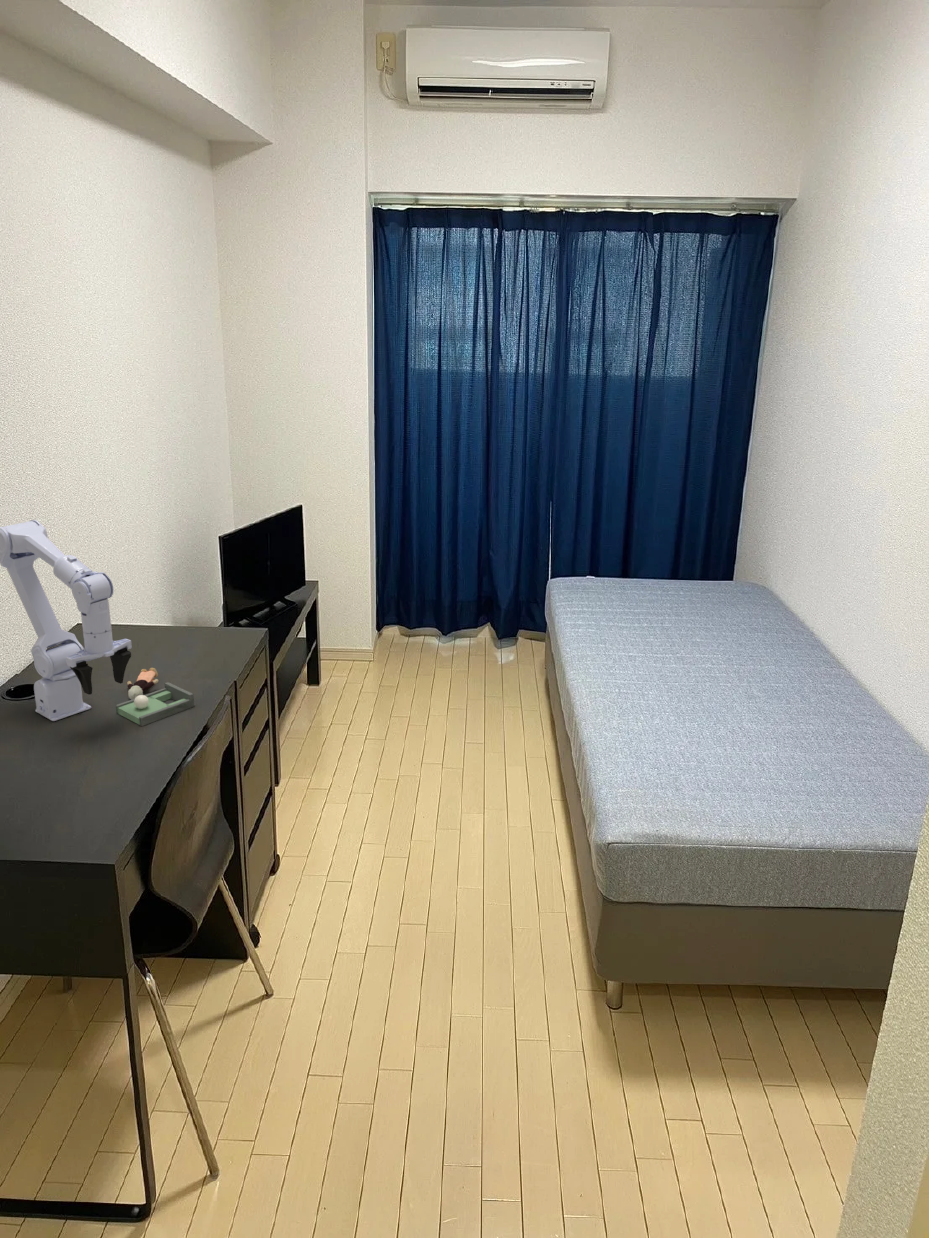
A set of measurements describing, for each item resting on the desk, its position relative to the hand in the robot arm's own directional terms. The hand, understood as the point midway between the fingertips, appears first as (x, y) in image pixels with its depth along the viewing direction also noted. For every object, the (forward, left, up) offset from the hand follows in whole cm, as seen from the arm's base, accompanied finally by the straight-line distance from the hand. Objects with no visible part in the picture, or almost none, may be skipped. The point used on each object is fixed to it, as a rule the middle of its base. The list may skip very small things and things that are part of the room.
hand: (103, 687), depth 199 cm
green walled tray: (+12, 0, -10) cm, 15 cm away
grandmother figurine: (+21, +15, -8) cm, 27 cm away
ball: (+8, 0, -6) cm, 11 cm away
